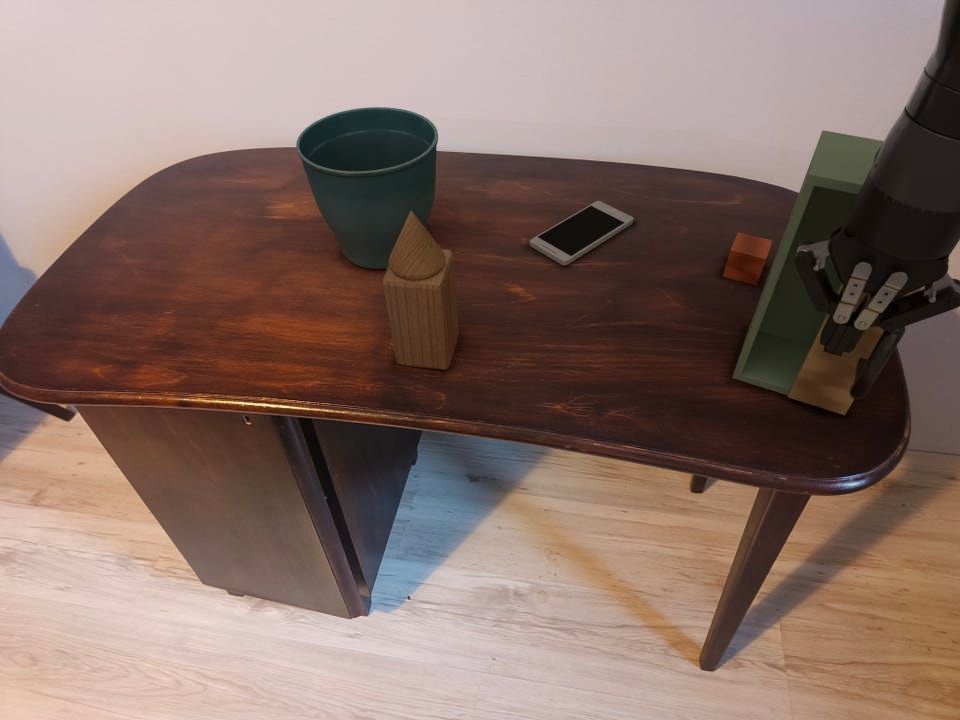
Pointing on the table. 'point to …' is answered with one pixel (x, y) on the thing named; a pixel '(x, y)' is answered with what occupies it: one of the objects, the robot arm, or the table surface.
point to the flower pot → (370, 176)
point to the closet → (784, 300)
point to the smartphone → (581, 232)
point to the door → (844, 368)
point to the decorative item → (421, 299)
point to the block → (747, 258)
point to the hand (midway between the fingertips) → (833, 348)
